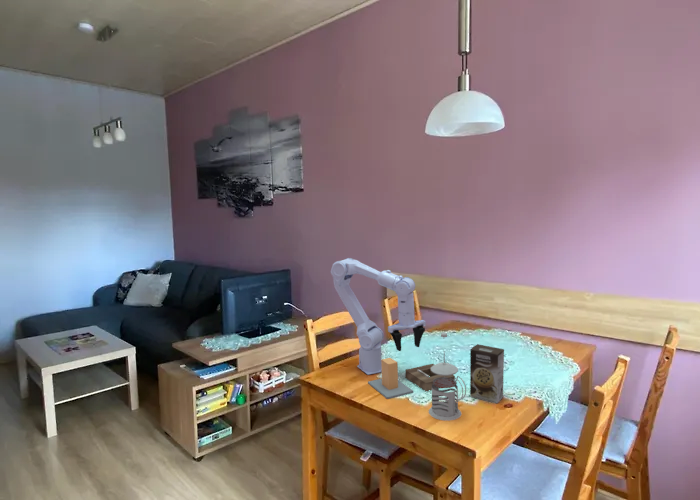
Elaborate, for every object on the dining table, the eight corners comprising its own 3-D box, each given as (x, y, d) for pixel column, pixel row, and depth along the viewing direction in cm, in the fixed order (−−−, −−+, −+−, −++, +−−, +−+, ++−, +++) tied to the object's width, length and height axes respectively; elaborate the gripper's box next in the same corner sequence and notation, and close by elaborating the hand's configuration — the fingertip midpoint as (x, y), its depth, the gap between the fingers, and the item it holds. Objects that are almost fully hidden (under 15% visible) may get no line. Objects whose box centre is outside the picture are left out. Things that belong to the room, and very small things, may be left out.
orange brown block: (382, 384, 153) (381, 359, 152) (390, 382, 154) (390, 357, 153) (389, 389, 148) (388, 364, 147) (398, 387, 150) (397, 362, 149)
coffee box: (469, 397, 142) (469, 349, 140) (476, 389, 148) (476, 343, 146) (497, 404, 137) (497, 354, 135) (504, 396, 142) (504, 348, 140)
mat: (367, 383, 156) (367, 381, 156) (392, 377, 160) (392, 375, 160) (387, 399, 143) (387, 397, 143) (413, 392, 147) (413, 390, 147)
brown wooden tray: (405, 377, 159) (405, 368, 159) (433, 371, 164) (432, 362, 164) (425, 391, 147) (425, 381, 147) (454, 384, 152) (454, 374, 152)
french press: (439, 401, 140) (438, 325, 137) (473, 413, 132) (472, 332, 129) (422, 413, 133) (420, 333, 130) (456, 426, 125) (455, 341, 122)
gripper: (393, 317, 152) (395, 355, 153) (429, 311, 157) (431, 347, 159) (384, 313, 158) (386, 349, 160) (419, 307, 164) (420, 342, 165)
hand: (408, 348), depth 160 cm, fingers open, 7 cm apart
